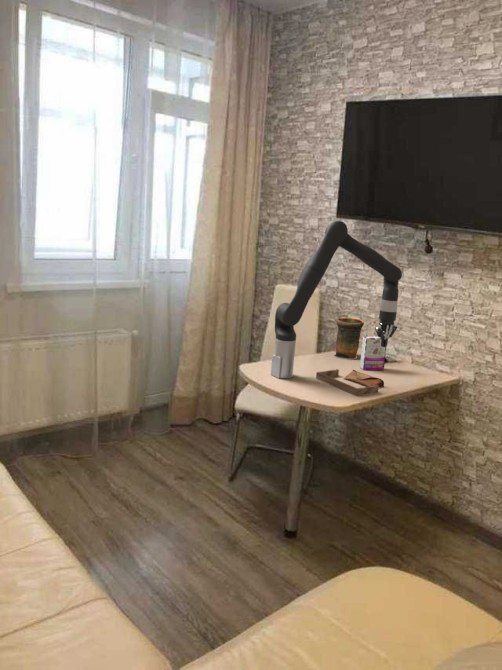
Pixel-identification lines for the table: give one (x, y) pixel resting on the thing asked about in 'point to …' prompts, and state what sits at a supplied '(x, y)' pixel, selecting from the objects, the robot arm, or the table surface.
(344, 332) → the vessel
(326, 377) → the tray
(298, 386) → the table surface
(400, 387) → the table surface
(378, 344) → the candy bar box
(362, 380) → the sunglasses case
